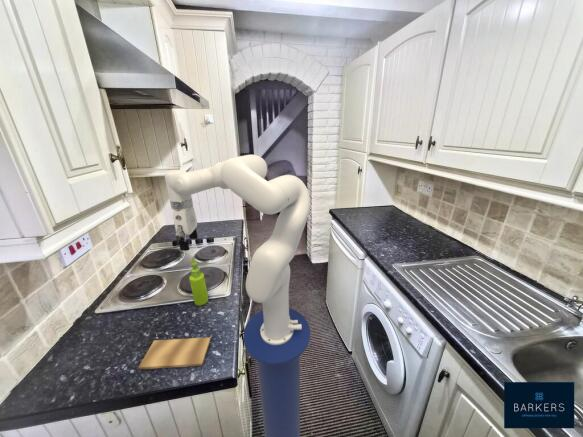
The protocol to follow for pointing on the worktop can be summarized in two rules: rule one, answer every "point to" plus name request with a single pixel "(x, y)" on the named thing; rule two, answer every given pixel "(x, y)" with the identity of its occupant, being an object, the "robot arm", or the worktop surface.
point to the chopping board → (176, 353)
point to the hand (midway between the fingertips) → (189, 244)
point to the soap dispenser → (198, 285)
